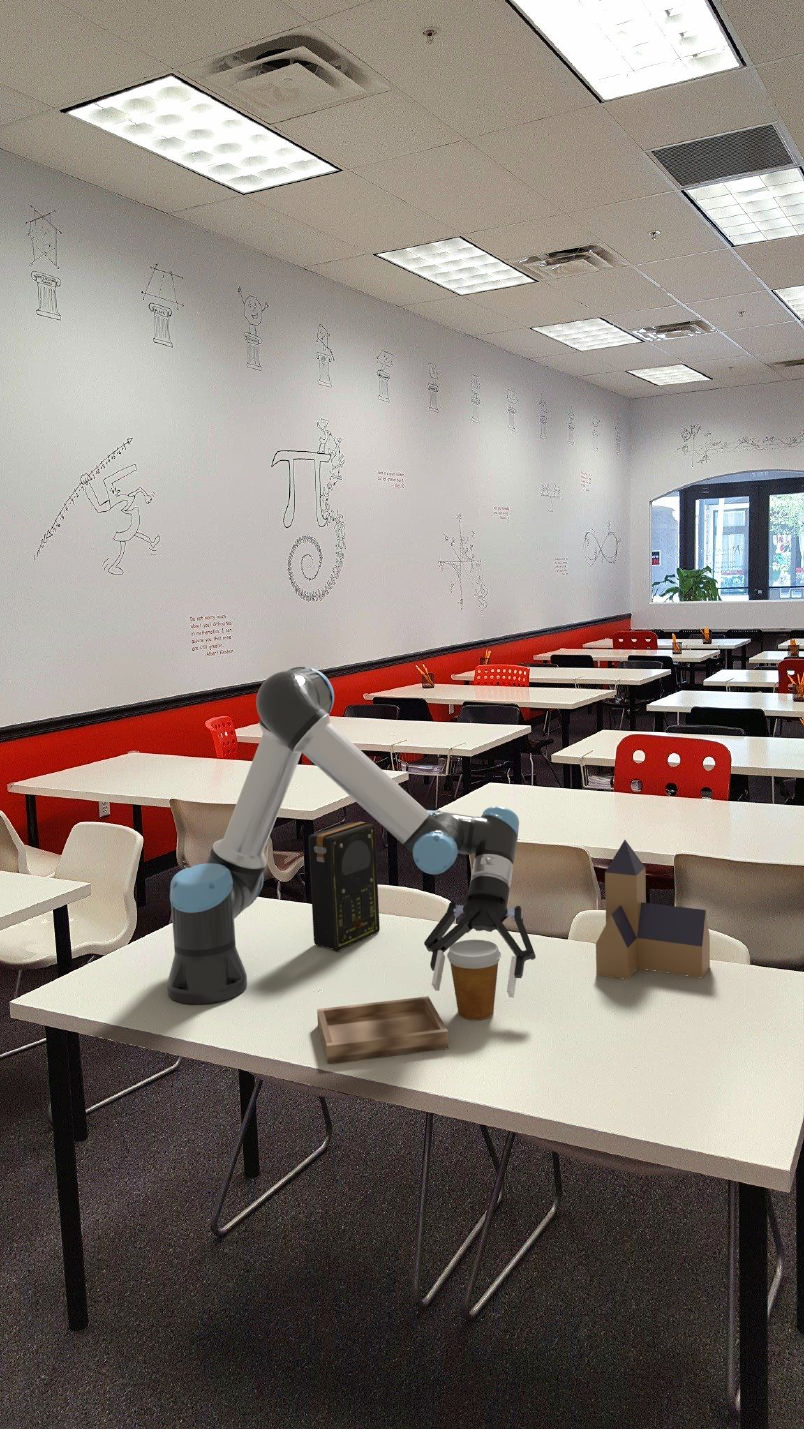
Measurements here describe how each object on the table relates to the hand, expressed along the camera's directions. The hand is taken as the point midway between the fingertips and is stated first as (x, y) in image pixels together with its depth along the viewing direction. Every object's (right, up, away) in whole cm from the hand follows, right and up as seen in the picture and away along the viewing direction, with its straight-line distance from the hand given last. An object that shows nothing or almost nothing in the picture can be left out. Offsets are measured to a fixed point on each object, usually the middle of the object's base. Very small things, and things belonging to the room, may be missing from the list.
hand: (472, 991), depth 176 cm
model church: (+37, -1, +19) cm, 41 cm away
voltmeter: (-24, -1, +43) cm, 50 cm away
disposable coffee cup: (+1, -5, +3) cm, 5 cm away
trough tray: (-16, -6, -6) cm, 18 cm away
